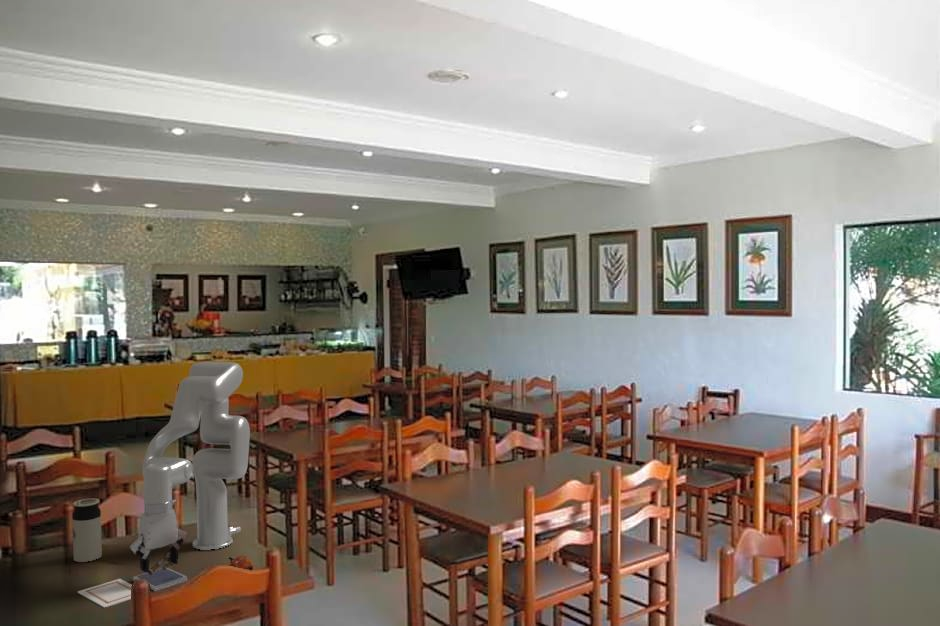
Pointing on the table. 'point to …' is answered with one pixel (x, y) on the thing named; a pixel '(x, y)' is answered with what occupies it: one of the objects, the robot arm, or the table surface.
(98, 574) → the table surface
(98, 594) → the marked card
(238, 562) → the pomegranate
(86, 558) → the travel mug
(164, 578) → the ink pad
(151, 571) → the wooden post with brackets
